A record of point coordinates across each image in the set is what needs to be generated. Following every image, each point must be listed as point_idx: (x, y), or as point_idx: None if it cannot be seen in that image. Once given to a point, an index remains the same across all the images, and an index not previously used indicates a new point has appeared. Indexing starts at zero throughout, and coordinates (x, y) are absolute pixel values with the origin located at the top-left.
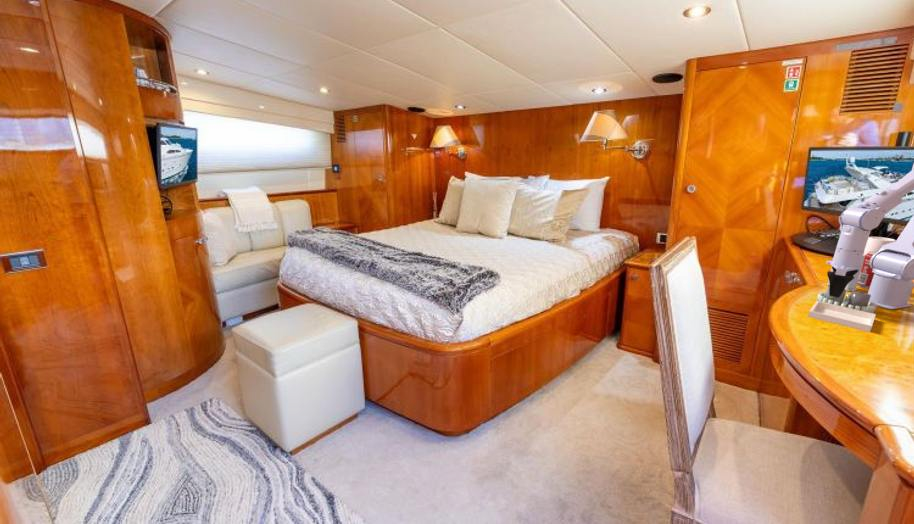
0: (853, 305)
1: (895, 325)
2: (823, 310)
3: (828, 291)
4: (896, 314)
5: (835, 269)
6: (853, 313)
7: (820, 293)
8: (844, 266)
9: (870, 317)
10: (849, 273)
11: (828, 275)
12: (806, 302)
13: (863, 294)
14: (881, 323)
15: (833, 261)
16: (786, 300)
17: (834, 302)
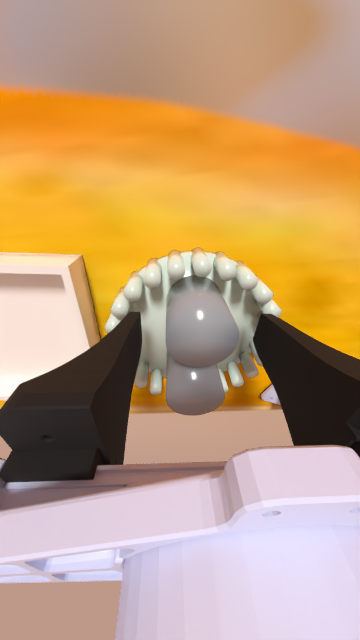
0: (167, 356)
1: None
2: (45, 287)
3: (179, 306)
4: (227, 401)
5: (353, 396)
6: None
7: (204, 267)
8: (98, 568)
9: None
10: (304, 435)
11: (18, 391)
12: (137, 215)
13: (188, 403)
14: None
15: (210, 584)
16: (70, 109)
17: (109, 321)
